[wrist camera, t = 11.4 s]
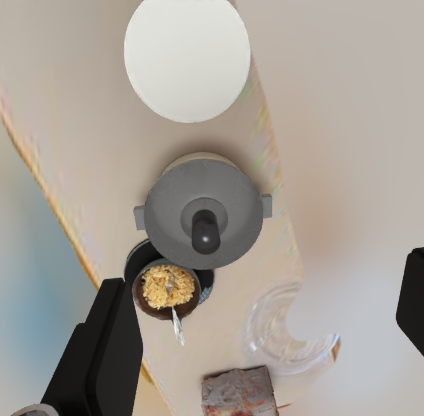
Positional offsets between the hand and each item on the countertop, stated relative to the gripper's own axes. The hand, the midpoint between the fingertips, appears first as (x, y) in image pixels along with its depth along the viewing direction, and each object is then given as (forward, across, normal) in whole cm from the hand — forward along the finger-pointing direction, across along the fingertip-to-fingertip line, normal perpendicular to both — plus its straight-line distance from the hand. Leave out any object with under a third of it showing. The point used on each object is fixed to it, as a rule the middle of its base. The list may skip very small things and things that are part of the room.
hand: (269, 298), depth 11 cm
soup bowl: (+37, +9, +24) cm, 45 cm away
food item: (+37, -1, +50) cm, 62 cm away
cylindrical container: (+36, +2, -8) cm, 37 cm away
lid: (+29, +2, +10) cm, 31 cm away
